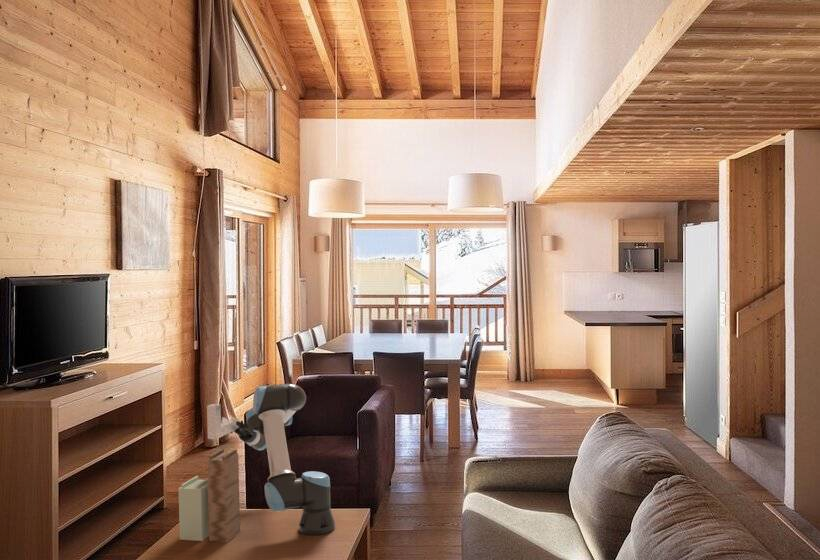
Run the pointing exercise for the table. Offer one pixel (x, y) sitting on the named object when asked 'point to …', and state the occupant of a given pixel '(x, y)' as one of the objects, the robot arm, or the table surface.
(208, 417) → the stepped metal block
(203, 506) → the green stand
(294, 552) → the table surface
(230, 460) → the walnut stand
